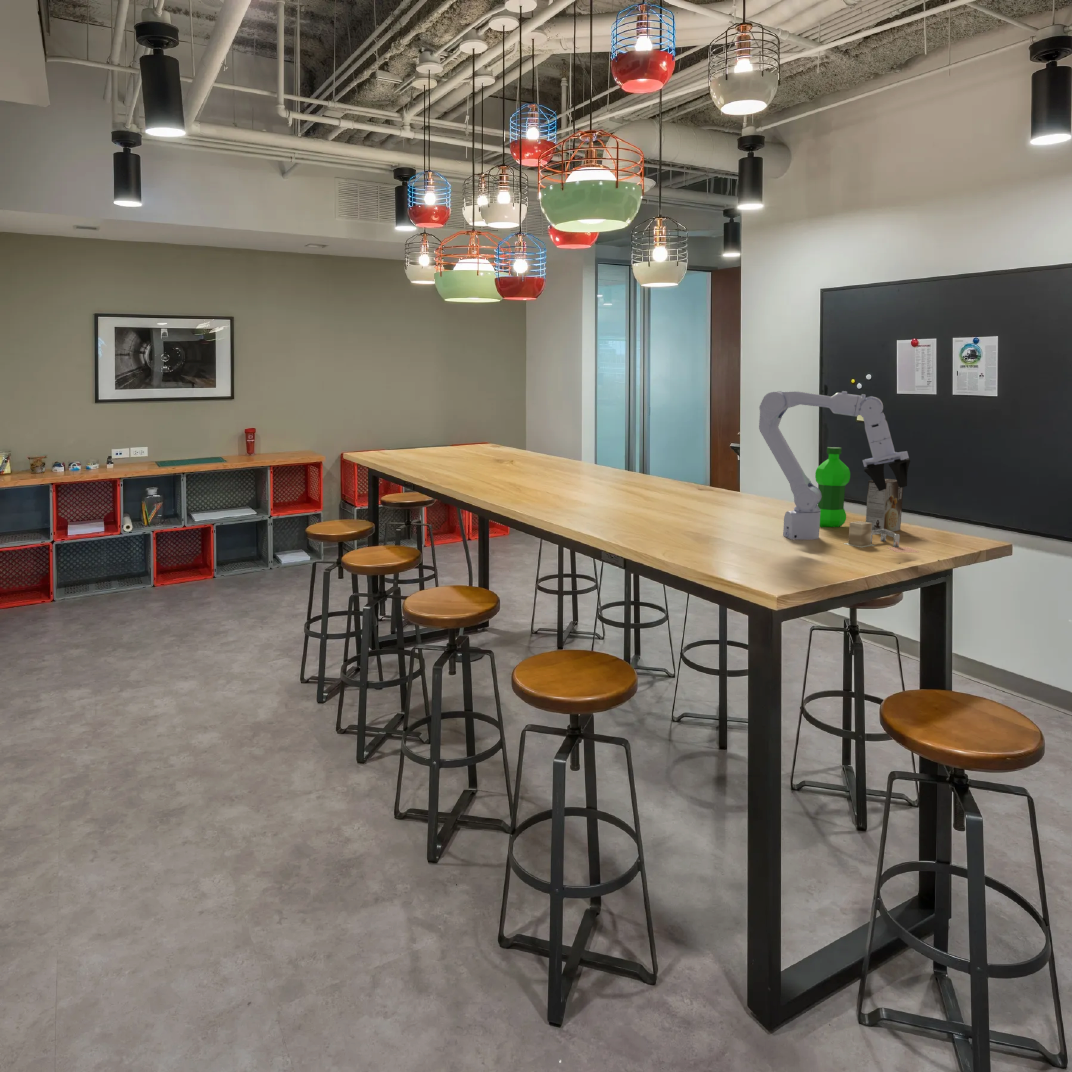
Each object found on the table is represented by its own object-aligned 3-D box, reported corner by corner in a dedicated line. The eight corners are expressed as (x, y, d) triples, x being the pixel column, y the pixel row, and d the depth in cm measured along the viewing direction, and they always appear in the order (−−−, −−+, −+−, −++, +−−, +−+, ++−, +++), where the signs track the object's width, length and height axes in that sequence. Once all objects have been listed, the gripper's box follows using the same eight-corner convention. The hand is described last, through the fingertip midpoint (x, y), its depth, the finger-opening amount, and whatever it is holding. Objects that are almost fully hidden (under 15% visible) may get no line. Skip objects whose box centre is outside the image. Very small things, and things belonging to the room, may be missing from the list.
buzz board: (865, 558, 212) (866, 553, 211) (833, 543, 230) (833, 539, 229) (924, 556, 213) (924, 552, 213) (887, 542, 231) (887, 538, 231)
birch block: (860, 546, 220) (862, 524, 219) (848, 543, 224) (849, 522, 223) (870, 544, 222) (871, 523, 221) (858, 542, 226) (859, 521, 225)
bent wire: (878, 548, 219) (879, 535, 218) (861, 541, 228) (862, 529, 227) (902, 547, 219) (903, 534, 219) (884, 540, 229) (885, 528, 228)
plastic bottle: (851, 531, 249) (857, 449, 244) (817, 531, 249) (822, 449, 245) (840, 525, 259) (845, 446, 254) (807, 525, 259) (811, 446, 254)
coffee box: (880, 530, 251) (885, 478, 248) (900, 533, 246) (905, 480, 243) (863, 533, 245) (867, 480, 242) (883, 536, 240) (887, 482, 237)
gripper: (911, 432, 215) (924, 481, 216) (871, 441, 229) (884, 487, 230) (891, 438, 213) (904, 488, 214) (852, 447, 227) (865, 494, 227)
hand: (892, 488), depth 222 cm, fingers open, 7 cm apart
